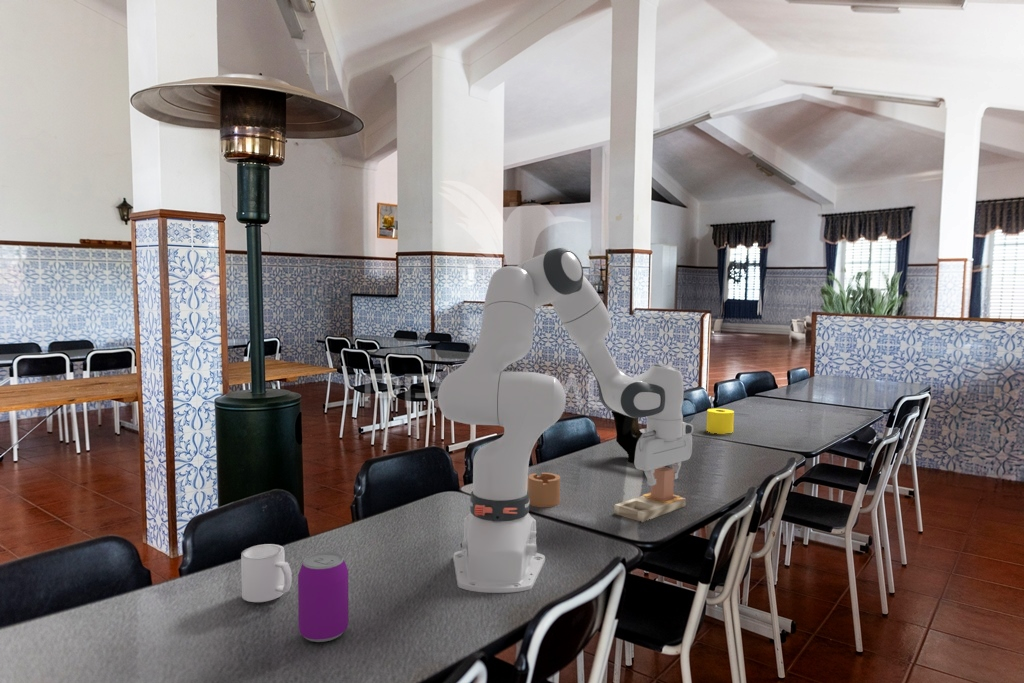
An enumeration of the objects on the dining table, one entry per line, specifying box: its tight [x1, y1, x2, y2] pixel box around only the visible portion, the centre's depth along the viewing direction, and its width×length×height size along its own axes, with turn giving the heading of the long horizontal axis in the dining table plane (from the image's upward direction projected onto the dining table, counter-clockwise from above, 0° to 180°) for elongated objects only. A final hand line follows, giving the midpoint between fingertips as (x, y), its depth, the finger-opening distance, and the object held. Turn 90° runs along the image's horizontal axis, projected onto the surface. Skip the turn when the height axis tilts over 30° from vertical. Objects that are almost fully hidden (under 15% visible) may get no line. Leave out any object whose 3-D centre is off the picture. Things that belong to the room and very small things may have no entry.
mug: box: [240, 543, 293, 603], centre depth 121 cm, size 10×7×8 cm
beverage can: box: [297, 550, 350, 643], centre depth 108 cm, size 8×8×12 cm
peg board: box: [613, 491, 686, 523], centre depth 170 cm, size 18×8×3 cm, turn 132°
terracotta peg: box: [650, 466, 675, 502], centre depth 173 cm, size 4×4×10 cm
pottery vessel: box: [611, 411, 685, 464], centre depth 217 cm, size 25×11×20 cm, turn 47°
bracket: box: [527, 472, 561, 508], centre depth 181 cm, size 18×8×7 cm, turn 11°
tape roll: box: [706, 408, 735, 435], centre depth 264 cm, size 10×10×9 cm
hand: (662, 481), depth 173 cm, fingers open, 8 cm apart
